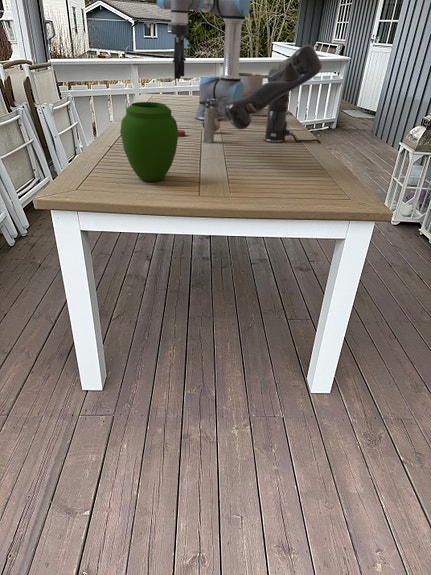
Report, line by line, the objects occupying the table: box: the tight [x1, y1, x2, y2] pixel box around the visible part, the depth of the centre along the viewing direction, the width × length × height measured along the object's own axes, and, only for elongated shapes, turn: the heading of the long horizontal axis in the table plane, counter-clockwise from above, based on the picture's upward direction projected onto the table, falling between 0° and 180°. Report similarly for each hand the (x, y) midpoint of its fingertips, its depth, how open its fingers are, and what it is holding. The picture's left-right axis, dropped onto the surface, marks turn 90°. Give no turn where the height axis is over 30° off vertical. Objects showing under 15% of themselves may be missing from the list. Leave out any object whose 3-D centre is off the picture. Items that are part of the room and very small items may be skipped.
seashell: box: [202, 118, 221, 133], centre depth 215 cm, size 10×6×8 cm, turn 97°
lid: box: [178, 129, 186, 137], centre depth 208 cm, size 6×6×2 cm
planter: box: [238, 72, 264, 114], centre depth 276 cm, size 25×25×22 cm
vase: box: [119, 101, 179, 182], centre depth 140 cm, size 20×20×24 cm
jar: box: [203, 107, 215, 144], centre depth 195 cm, size 5×5×16 cm
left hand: (179, 77), depth 194 cm, fingers open, 13 cm apart
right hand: (216, 101), depth 180 cm, fingers open, 8 cm apart
